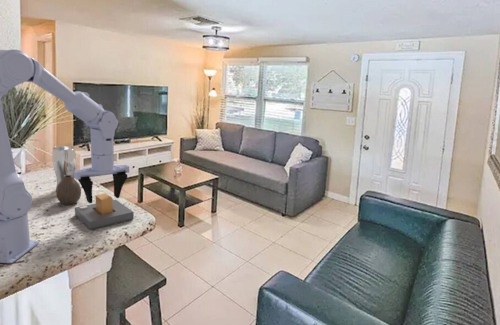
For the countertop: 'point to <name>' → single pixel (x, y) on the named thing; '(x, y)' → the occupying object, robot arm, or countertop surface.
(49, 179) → the countertop surface
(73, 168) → the metal tumbler
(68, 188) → the vase
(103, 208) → the plug
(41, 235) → the countertop surface
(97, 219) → the socket
